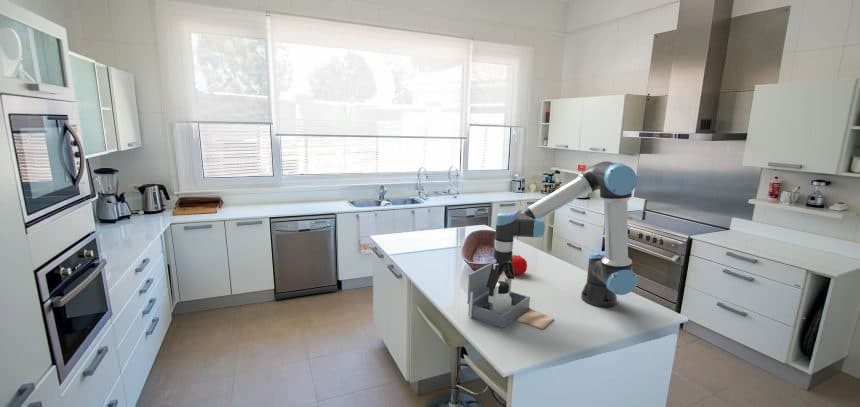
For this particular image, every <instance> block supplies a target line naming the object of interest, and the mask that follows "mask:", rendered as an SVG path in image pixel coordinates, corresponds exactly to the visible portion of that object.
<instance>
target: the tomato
mask: <svg viewBox="0 0 860 407" xmlns="http://www.w3.org/2000/svg"><path fill="white" fill-rule="evenodd" d="M512 258H513V268H514V273H515V275H517V276H521V275H523V274H525V273H526V272H527V268H528V263H527V260H526V259H525V258H524V257H522V256H521V255H520V254H518V255H516V254H514V255H513V254H512ZM511 273H512V272H511Z"/></svg>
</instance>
